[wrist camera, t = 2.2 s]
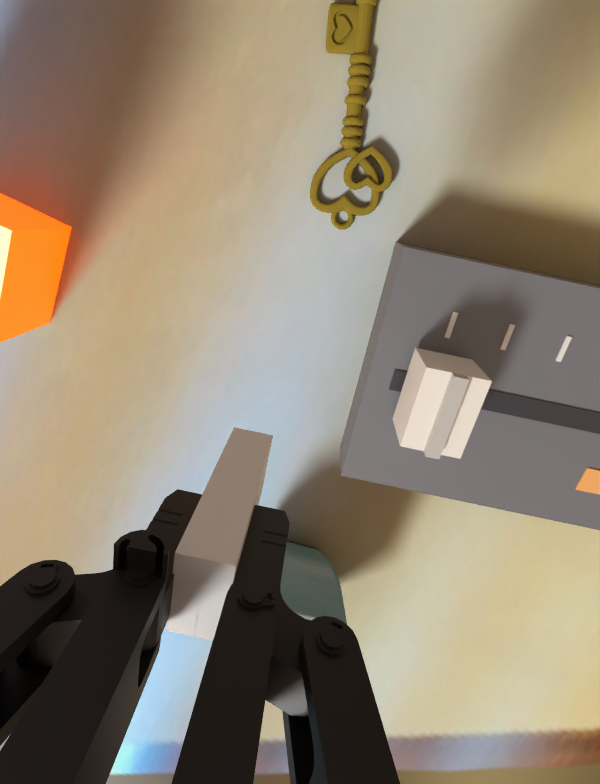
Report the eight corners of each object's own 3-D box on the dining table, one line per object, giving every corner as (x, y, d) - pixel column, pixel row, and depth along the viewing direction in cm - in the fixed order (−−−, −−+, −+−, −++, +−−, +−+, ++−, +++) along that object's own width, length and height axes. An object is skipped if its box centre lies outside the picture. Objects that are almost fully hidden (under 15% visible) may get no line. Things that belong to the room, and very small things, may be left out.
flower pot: (251, 512, 38) (227, 596, 30) (347, 537, 38) (350, 628, 30) (232, 582, 41) (206, 674, 33) (320, 605, 42) (315, 702, 33)
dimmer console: (395, 242, 28) (405, 246, 24) (720, 311, 28) (780, 326, 24) (340, 447, 35) (340, 476, 31) (605, 503, 35) (638, 539, 31)
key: (326, -12, 23) (421, -5, 22) (326, -2, 24) (416, 5, 24) (306, 226, 28) (384, 233, 27) (308, 225, 29) (382, 232, 29)
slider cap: (415, 347, 26) (428, 371, 22) (472, 359, 26) (495, 385, 22) (392, 418, 28) (401, 451, 24) (445, 429, 28) (462, 464, 24)
